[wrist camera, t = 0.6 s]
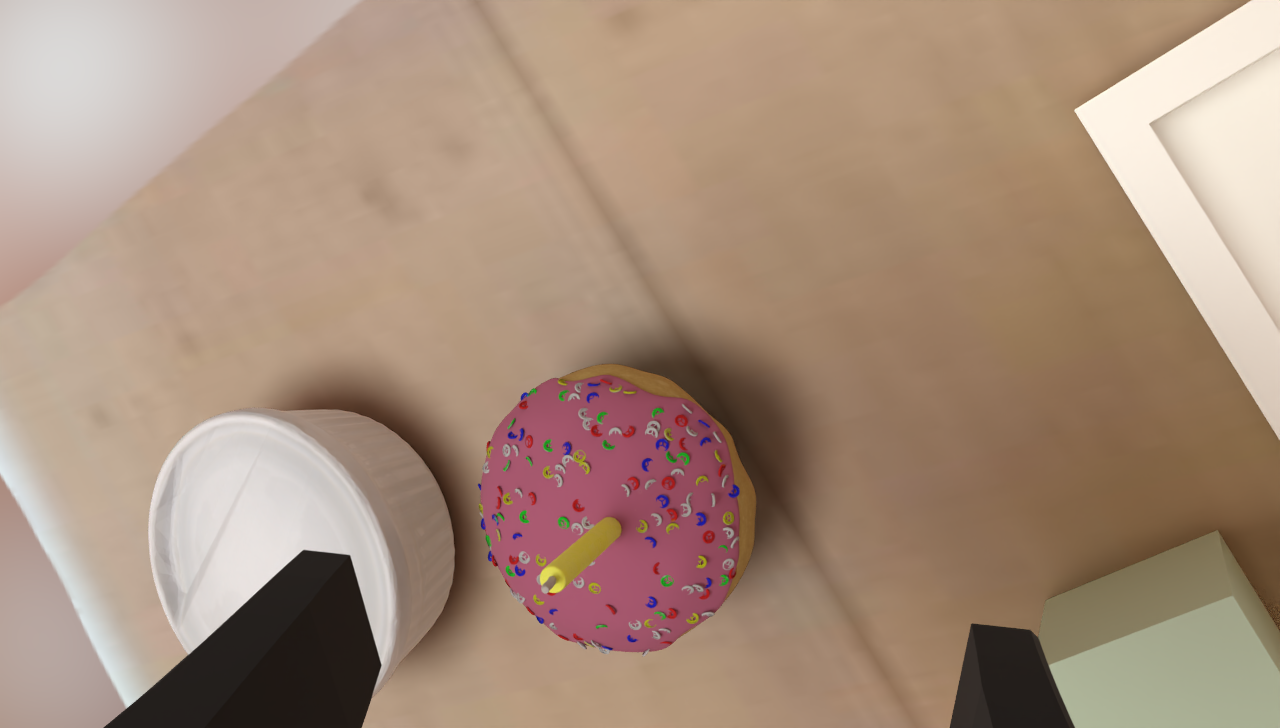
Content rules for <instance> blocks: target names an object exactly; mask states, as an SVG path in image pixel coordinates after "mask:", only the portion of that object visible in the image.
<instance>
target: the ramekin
mask: <svg viewBox="0 0 1280 728" xmlns="http://www.w3.org/2000/svg"><path fill="white" fill-rule="evenodd" d="M148 539H149V553H150V561H151V567H152V572H153V578H154V581H155V585H156V588H157V592H158V595H159V598H160V601H161V604H162V606H163V609H164V611H165V614H166V616H167V618H168V621H169V623H170V625H171V627H172V629H173V631H174V633H175V634H176V636H177V638H178V640H179V641H180V643H181V645H182V646H183V648H184V649H185V651H186V652H187V653H188V655H189V654H190V653H191V652H192V651H193V650H194V649H195V648H197V647H198V646H199V645H200V644H201V643H202V642H203V641H204V640H206V639H207V638H208V637H209V636H210V635H211V634H212V633H213V632H214V631H215V630H216V629H217V628H219V627H220V626H221V625H222V624H223V623H224V622H225V621H226V620H227V619H228V618H229V617H230V616H232V615H233V614H234V613H235V612H236V611H237V610H238V609H239V608H240V607H241V606H242V605H243V604H245V603H246V602H247V601H248V600H249V599H250V598H251V597H252V596H253V595H254V594H255V593H256V592H257V591H258V590H260V589H261V588H262V587H263V586H264V585H265V584H266V583H267V582H268V581H269V580H270V579H271V578H273V577H274V576H275V575H276V574H277V573H278V572H279V571H280V570H281V569H282V568H283V567H285V566H286V565H287V564H288V563H289V562H290V561H291V560H292V559H294V558H295V557H296V556H297V555H298V554H299V553H300V552H301V551H303V550H310V551H319V552H328V553H337V554H346V555H350V556H351V559H352V563H353V566H354V570H355V573H356V577H357V580H358V584H359V587H360V591H361V594H362V598H363V601H364V605H365V609H366V612H367V616H368V619H369V623H370V626H371V630H372V633H373V637H374V640H375V644H376V647H377V651H378V654H379V658H380V661H381V665H382V666H381V669H380V672H379V676H378V679H377V682H376V685H375V688H374V691H373V695H372V697H374V696H375V695H376V694H377V693H378V692H379V691H380V690H381V689H382V687H383V686H384V685H385V684H386V683H387V681H388V680H389V679H390V677H391V676H392V674H393V673H394V671H395V669H396V668H397V666H398V664H399V663H400V662H401V661H402V660H403V659H404V658H405V657H406V656H407V654H408V653H409V652H410V651H411V650H412V649H413V648H414V647H415V646H416V645H417V644H418V643H419V642H420V640H421V639H422V638H423V637H424V636H425V635H426V633H427V632H428V631H429V630H430V629H431V627H432V626H433V625H434V623H435V622H436V620H437V618H438V617H439V616H440V614H441V613H442V611H443V608H444V605H445V603H446V602H447V599H448V597H449V591H450V588H451V586H452V583H453V573H454V568H455V562H454V556H455V547H454V534H453V530H452V524H451V520H450V515H449V511H448V508H447V505H446V502H445V499H444V496H443V494H442V492H441V490H440V487H439V485H438V483H437V481H436V479H435V478H434V476H433V474H432V473H431V471H430V470H429V468H428V467H427V465H426V464H425V463H424V461H423V460H422V459H421V457H420V456H419V455H418V454H417V453H416V452H415V451H414V449H413V448H412V447H411V446H410V445H409V444H408V443H407V442H405V441H404V440H403V439H402V438H401V437H399V436H398V435H397V434H396V433H395V432H393V431H391V430H390V429H388V428H387V427H386V426H384V425H383V424H381V423H379V422H376V421H374V420H373V419H371V418H369V417H366V416H362V415H359V414H357V413H354V412H347V411H343V410H327V409H322V410H291V411H281V410H276V409H270V408H246V409H239V410H234V411H230V412H226V413H223V414H220V415H217V416H214V417H212V418H209V419H207V420H205V421H203V422H201V423H200V424H198V425H196V426H195V427H193V428H192V429H191V430H190V431H189V432H187V433H186V434H185V435H184V436H183V437H182V438H181V439H180V440H179V441H178V442H177V444H176V445H175V446H174V448H173V449H172V450H171V452H170V453H169V455H168V457H167V458H166V460H165V462H164V464H163V466H162V468H161V470H160V472H159V475H158V478H157V481H156V484H155V487H154V491H153V495H152V500H151V505H150V513H149V526H148Z"/></svg>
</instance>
